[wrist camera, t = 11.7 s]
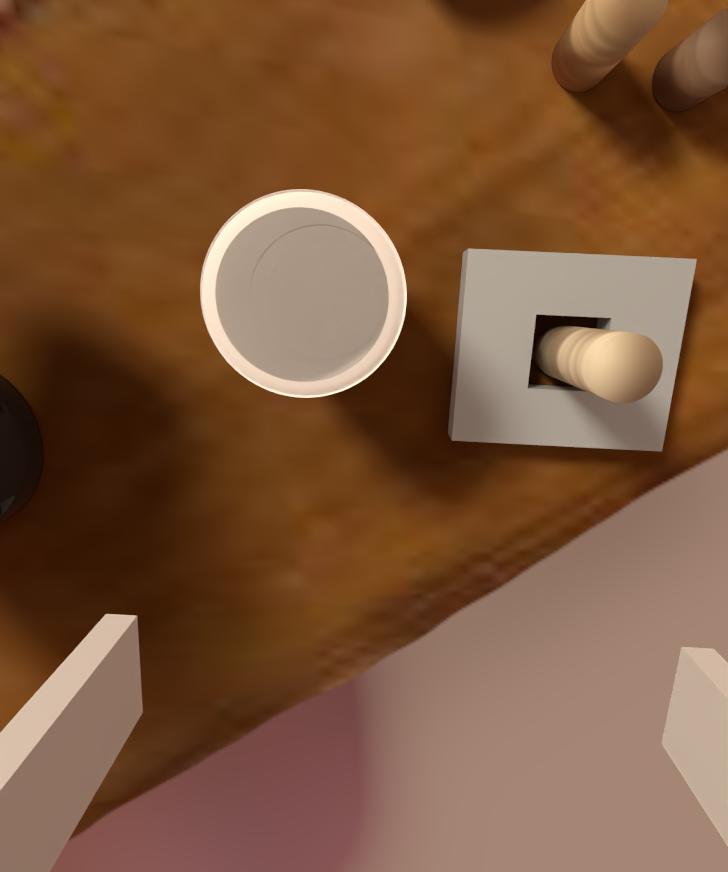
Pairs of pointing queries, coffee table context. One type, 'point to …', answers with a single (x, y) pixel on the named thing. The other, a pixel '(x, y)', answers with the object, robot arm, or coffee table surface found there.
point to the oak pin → (602, 39)
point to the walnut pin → (694, 67)
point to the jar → (303, 293)
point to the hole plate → (514, 332)
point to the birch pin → (600, 361)
